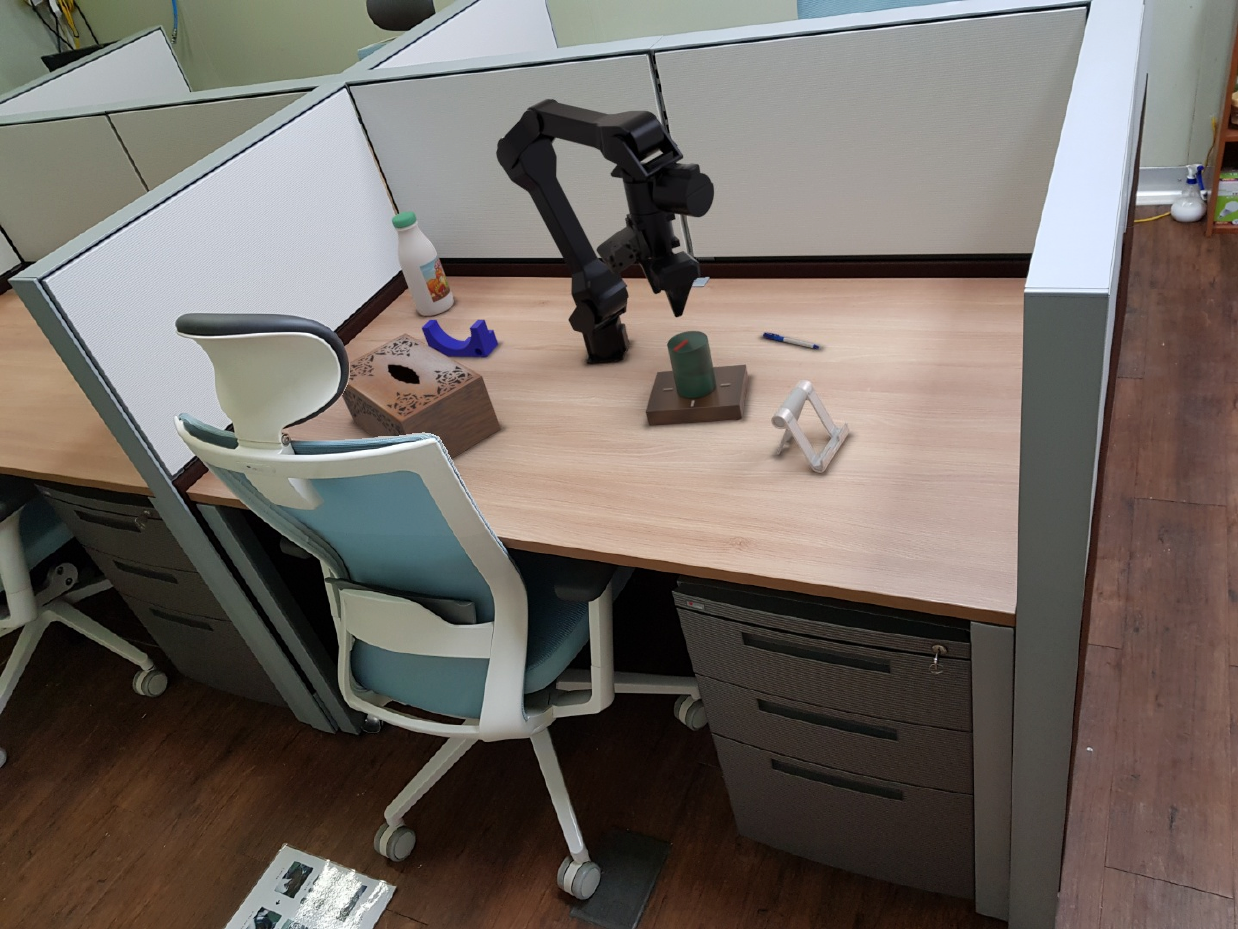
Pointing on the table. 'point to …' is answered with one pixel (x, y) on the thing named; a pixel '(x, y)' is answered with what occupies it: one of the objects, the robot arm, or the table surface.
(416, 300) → the milk bottle
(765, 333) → the ballpoint pen
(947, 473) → the table surface
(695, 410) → the dial knob base plate
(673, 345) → the rotary knob
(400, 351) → the tissue box cover
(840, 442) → the tablet stand
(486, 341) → the cable clip
